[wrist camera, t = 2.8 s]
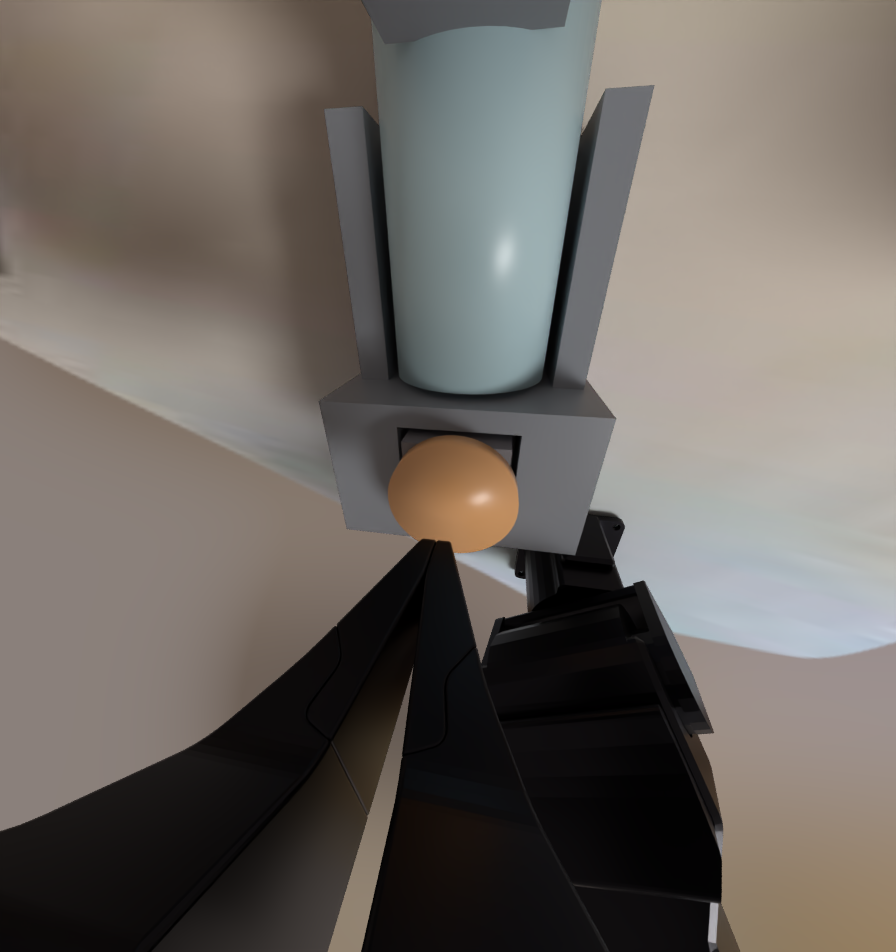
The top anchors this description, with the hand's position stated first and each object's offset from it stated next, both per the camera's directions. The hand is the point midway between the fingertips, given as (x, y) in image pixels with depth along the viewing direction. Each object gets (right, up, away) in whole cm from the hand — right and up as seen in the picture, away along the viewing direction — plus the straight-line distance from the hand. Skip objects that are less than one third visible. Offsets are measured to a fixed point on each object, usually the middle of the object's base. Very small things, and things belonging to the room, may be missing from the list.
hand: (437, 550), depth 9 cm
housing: (+2, +10, +7) cm, 13 cm away
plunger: (+1, +3, +5) cm, 6 cm away
